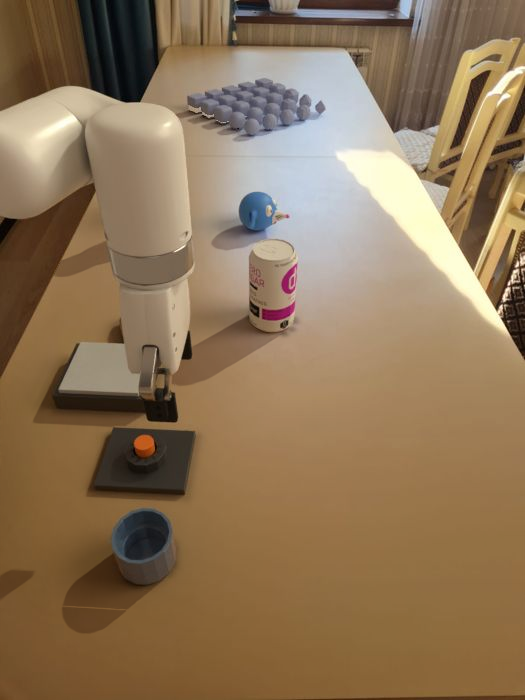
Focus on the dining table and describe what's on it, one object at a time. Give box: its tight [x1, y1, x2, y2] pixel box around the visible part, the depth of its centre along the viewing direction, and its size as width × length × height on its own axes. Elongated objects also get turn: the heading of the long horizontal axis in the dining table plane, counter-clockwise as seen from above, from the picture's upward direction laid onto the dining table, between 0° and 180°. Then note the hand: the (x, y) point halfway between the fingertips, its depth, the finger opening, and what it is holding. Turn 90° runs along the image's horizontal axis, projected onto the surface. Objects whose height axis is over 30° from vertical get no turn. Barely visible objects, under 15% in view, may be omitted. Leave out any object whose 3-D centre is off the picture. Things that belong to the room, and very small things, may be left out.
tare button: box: [134, 435, 155, 458], centre depth 73 cm, size 3×3×2 cm
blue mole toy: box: [238, 191, 291, 232], centre depth 122 cm, size 12×12×8 cm
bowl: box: [110, 507, 178, 586], centre depth 63 cm, size 7×7×6 cm
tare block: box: [93, 426, 197, 496], centre depth 74 cm, size 12×10×3 cm
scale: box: [51, 341, 162, 414], centre depth 85 cm, size 14×12×4 cm
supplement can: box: [248, 238, 299, 333], centre depth 95 cm, size 8×8×15 cm
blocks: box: [186, 77, 327, 136], centre depth 184 cm, size 35×34×5 cm
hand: (171, 386), depth 60 cm, fingers open, 9 cm apart
